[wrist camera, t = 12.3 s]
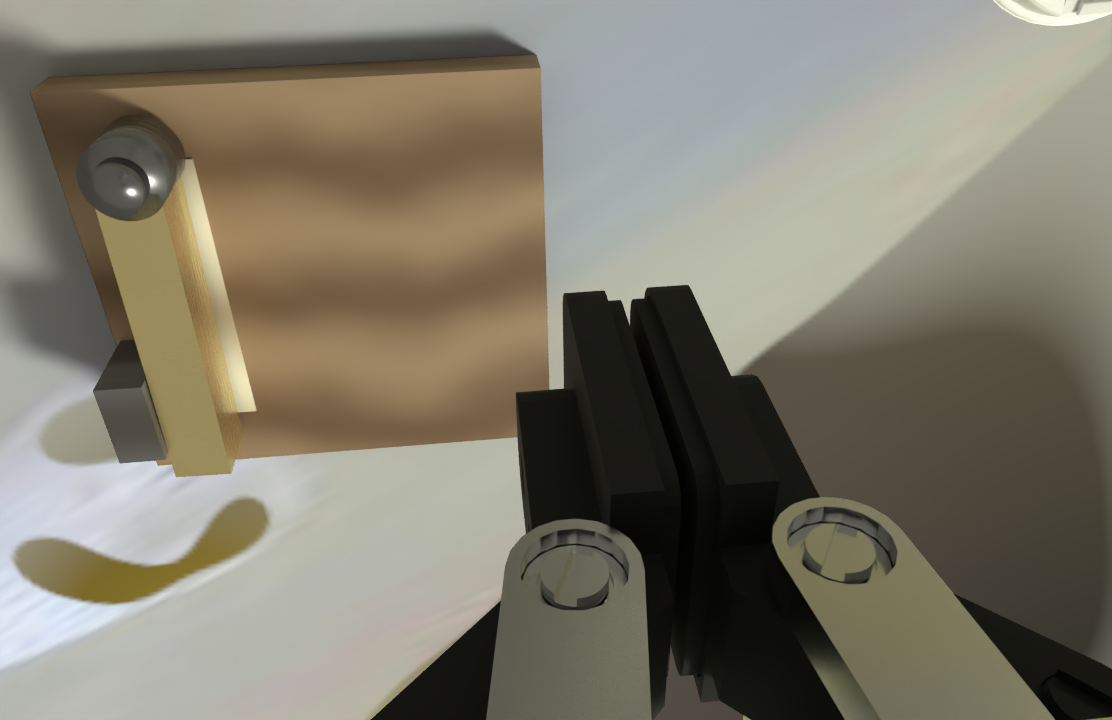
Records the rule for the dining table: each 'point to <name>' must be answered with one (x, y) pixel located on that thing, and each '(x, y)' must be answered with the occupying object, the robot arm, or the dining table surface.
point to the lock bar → (164, 288)
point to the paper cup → (1056, 10)
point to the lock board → (339, 245)
